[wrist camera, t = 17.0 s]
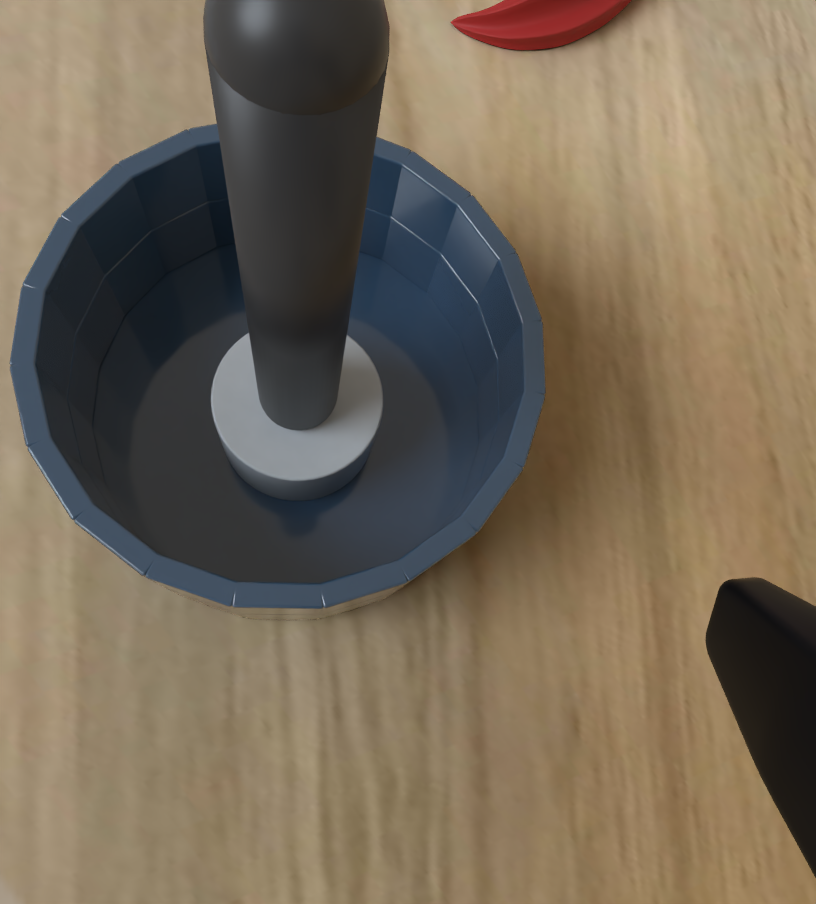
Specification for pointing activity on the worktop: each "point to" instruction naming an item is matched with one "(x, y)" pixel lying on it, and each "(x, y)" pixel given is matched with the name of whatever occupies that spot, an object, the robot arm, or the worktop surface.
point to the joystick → (297, 234)
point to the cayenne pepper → (538, 22)
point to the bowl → (206, 343)
